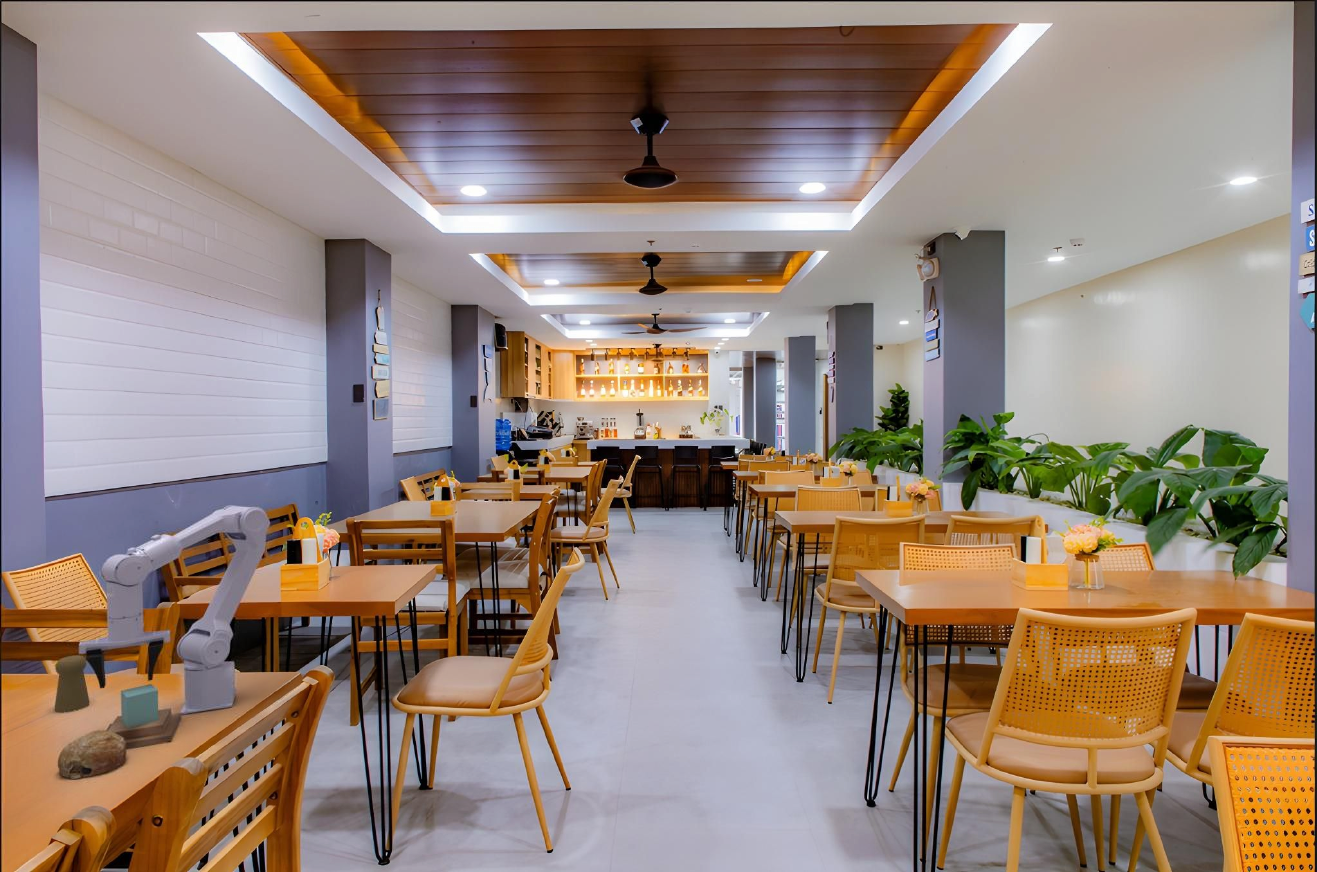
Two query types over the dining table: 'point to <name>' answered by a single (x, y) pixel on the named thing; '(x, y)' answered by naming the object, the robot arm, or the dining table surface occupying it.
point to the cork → (71, 684)
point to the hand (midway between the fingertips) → (126, 682)
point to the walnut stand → (148, 730)
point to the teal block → (139, 705)
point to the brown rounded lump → (92, 755)
